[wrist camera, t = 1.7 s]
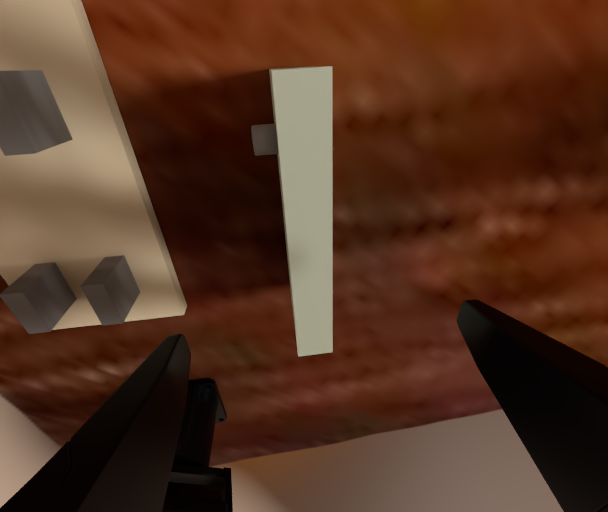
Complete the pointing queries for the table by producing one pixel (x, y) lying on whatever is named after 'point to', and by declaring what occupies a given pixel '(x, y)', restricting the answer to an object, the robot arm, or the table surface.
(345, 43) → the table surface
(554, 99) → the table surface
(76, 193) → the hinge base
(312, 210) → the door panel
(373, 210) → the table surface
